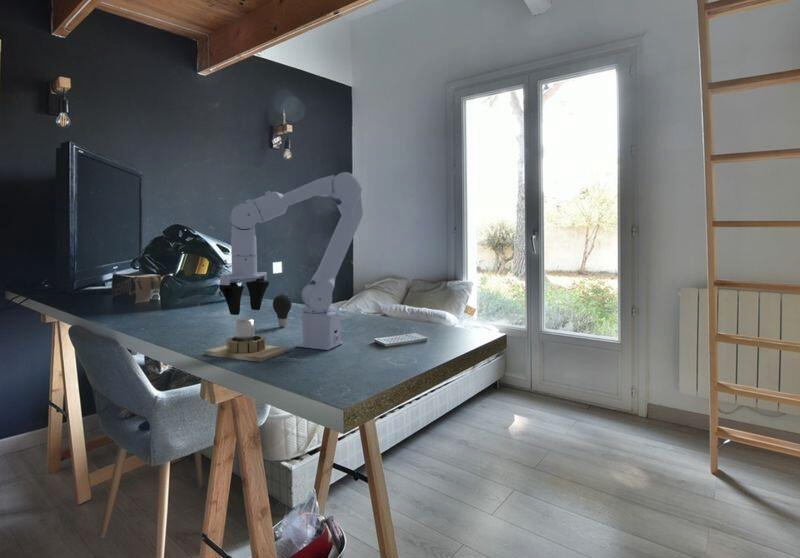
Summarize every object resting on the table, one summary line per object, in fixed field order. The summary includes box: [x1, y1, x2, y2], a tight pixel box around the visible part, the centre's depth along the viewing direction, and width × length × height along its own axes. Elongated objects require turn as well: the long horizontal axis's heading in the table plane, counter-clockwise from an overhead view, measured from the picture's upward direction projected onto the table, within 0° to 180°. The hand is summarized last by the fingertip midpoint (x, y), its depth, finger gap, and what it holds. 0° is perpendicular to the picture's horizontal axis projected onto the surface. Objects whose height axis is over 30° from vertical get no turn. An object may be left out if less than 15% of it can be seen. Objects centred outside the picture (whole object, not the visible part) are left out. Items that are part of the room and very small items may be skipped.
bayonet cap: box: [235, 317, 255, 342], centre depth 109 cm, size 5×4×7 cm
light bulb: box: [272, 294, 292, 328], centre depth 140 cm, size 6×6×10 cm
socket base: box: [203, 334, 288, 363], centre depth 109 cm, size 16×10×4 cm, turn 69°
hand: (245, 312), depth 111 cm, fingers open, 7 cm apart
